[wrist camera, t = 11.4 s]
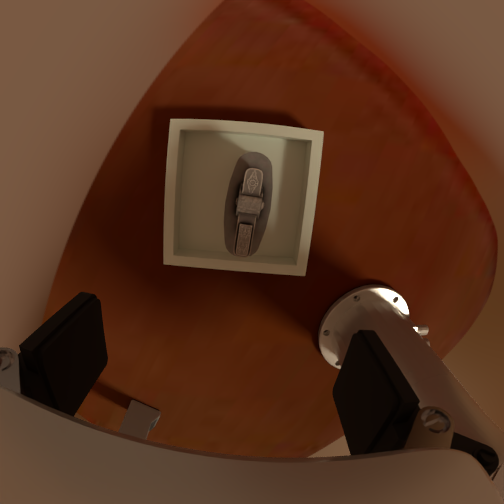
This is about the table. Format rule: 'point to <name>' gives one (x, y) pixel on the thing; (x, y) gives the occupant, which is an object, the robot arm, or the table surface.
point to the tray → (216, 187)
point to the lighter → (248, 204)
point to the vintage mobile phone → (139, 420)
